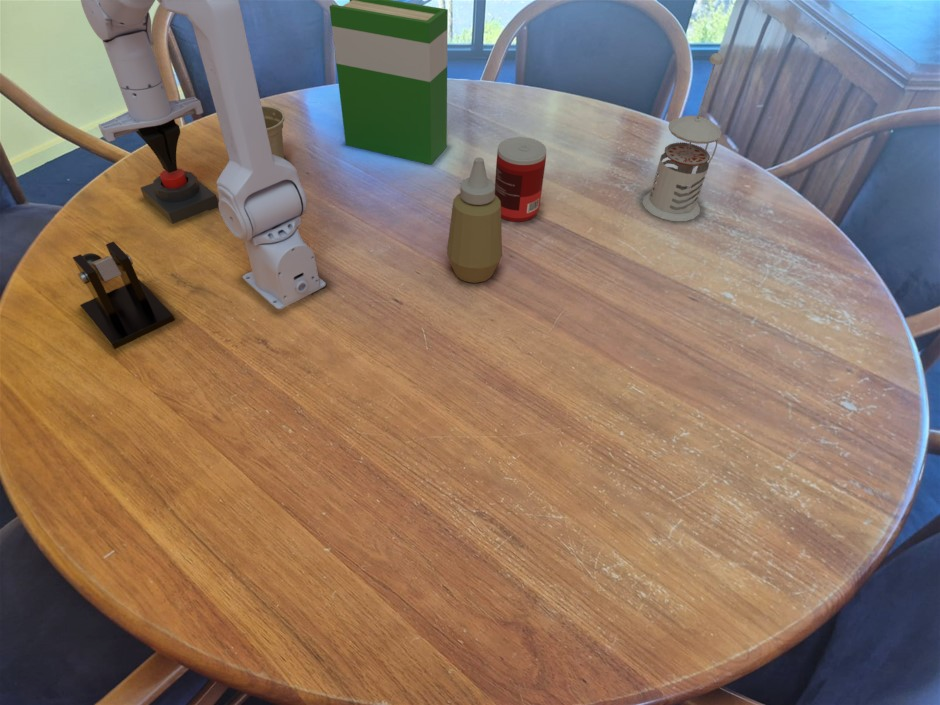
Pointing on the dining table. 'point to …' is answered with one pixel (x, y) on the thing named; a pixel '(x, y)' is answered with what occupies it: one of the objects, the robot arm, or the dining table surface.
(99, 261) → the lever
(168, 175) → the button
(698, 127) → the french press
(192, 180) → the button box
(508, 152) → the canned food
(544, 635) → the dining table surface
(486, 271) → the squeeze bottle
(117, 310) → the bracket
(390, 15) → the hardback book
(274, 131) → the flower pot
